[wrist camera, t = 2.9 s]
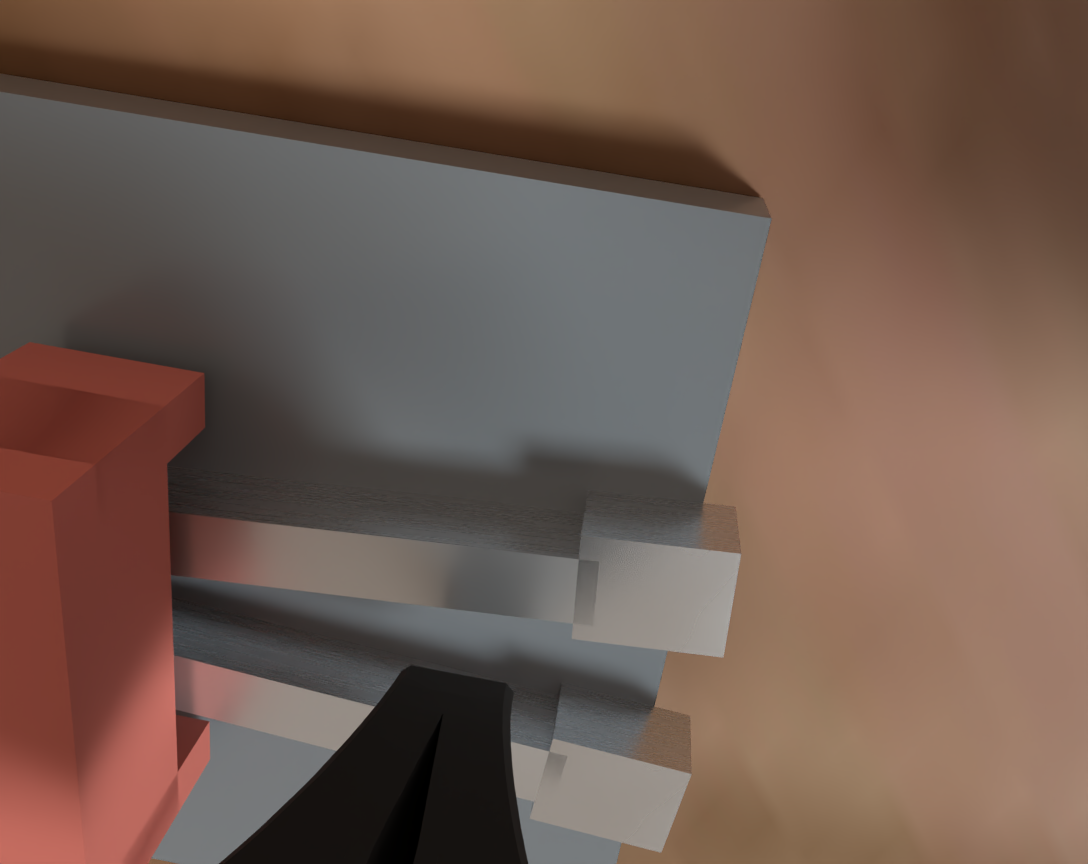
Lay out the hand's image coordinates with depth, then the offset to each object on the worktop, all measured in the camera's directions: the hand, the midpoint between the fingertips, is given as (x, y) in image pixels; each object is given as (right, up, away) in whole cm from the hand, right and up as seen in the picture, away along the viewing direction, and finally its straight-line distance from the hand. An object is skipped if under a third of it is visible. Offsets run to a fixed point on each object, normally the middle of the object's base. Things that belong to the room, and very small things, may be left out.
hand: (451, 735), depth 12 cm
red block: (-5, +2, +2) cm, 6 cm away
